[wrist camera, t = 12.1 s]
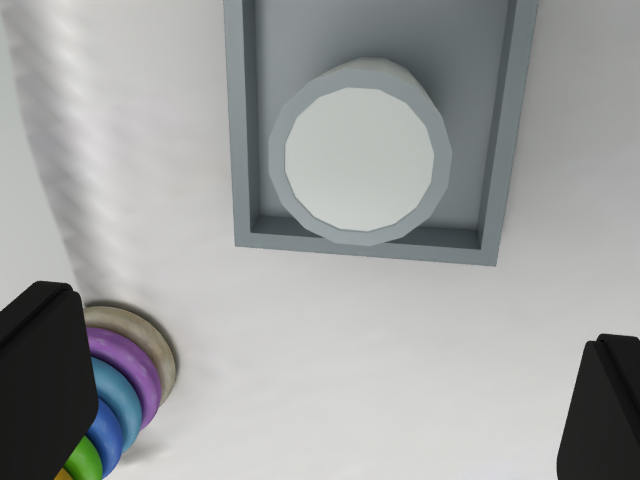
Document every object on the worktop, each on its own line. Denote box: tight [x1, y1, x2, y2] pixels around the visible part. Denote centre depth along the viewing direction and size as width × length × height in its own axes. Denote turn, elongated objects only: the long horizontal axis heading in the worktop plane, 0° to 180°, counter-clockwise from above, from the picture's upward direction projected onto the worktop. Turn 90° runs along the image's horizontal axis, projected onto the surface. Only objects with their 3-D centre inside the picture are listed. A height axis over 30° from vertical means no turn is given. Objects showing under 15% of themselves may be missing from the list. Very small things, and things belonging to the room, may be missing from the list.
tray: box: [223, 0, 539, 266], centre depth 28 cm, size 13×13×3 cm
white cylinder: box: [269, 57, 453, 246], centre depth 26 cm, size 7×7×7 cm
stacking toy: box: [54, 306, 175, 480], centre depth 30 cm, size 8×8×19 cm
